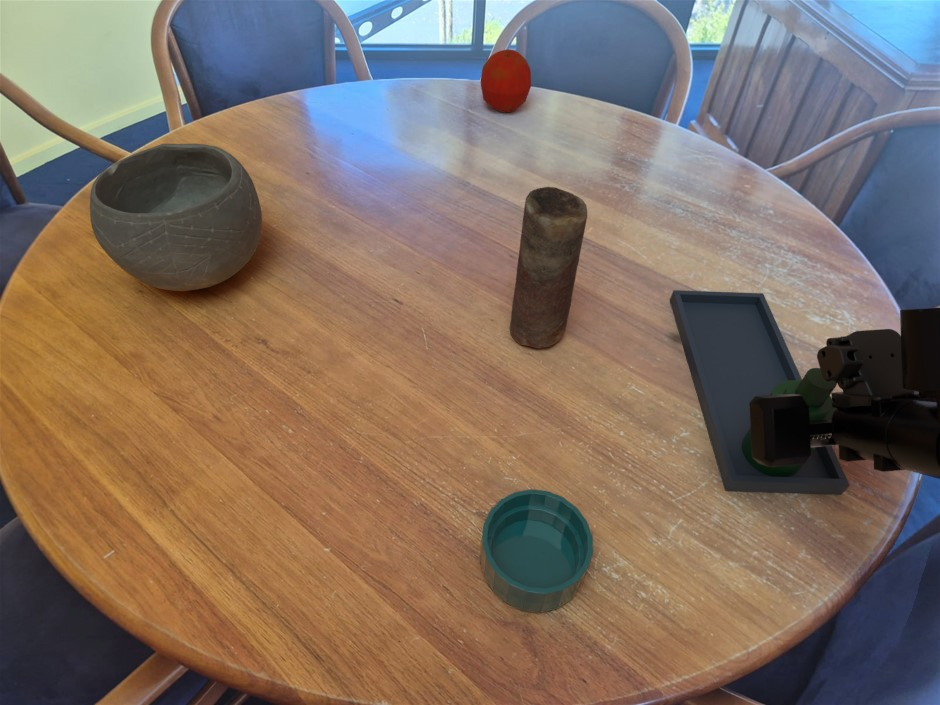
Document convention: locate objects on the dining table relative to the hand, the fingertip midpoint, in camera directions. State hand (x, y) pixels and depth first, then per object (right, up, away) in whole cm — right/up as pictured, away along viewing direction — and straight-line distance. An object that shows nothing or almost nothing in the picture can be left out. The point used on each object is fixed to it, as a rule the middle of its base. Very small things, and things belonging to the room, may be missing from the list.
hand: (796, 412), depth 65 cm
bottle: (0, -5, +5) cm, 7 cm away
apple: (-27, +57, +63) cm, 89 cm away
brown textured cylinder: (-25, +9, +18) cm, 32 cm away
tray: (0, +2, +13) cm, 13 cm away
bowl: (-73, +18, +25) cm, 80 cm away
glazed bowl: (-28, -14, -4) cm, 32 cm away
